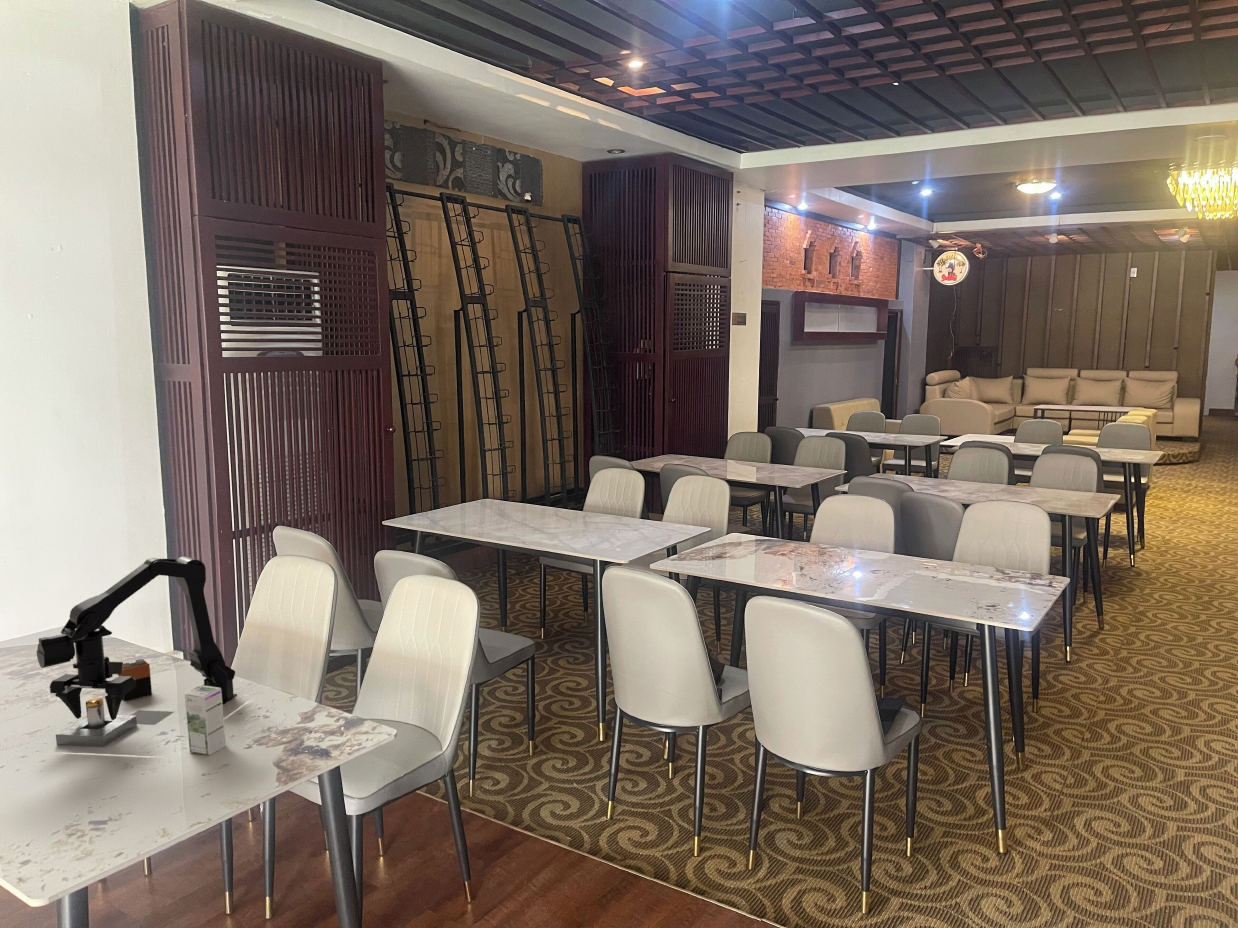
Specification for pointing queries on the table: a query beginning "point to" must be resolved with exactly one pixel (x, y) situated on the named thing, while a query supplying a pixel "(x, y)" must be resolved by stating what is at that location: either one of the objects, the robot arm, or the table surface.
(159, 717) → the mat
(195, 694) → the syrup box
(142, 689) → the battery
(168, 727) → the table surface
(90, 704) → the silver copper cylinder
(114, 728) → the block
